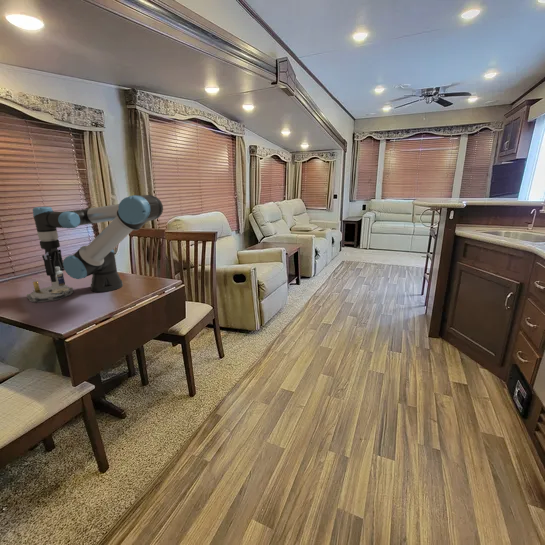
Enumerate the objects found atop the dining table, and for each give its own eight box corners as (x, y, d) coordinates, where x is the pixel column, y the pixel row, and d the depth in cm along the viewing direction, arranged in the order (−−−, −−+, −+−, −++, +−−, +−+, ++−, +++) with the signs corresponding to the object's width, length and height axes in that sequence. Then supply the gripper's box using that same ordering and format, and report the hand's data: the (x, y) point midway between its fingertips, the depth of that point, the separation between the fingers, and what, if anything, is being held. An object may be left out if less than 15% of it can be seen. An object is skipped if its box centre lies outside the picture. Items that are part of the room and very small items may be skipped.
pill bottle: (61, 287, 144) (57, 268, 142) (49, 288, 144) (45, 269, 141) (67, 284, 150) (63, 265, 147) (56, 284, 149) (52, 266, 146)
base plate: (81, 290, 153) (81, 290, 153) (48, 303, 137) (48, 303, 137) (54, 288, 158) (53, 287, 157) (19, 300, 141) (18, 299, 141)
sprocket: (72, 285, 159) (69, 274, 157) (73, 295, 145) (71, 283, 143) (29, 292, 149) (26, 280, 147) (26, 304, 135) (22, 290, 133)
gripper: (49, 236, 148) (58, 280, 154) (29, 243, 131) (41, 292, 137) (66, 236, 149) (74, 279, 156) (48, 243, 132) (59, 291, 139)
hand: (59, 285), depth 147 cm, fingers closed on pill bottle, 5 cm apart
